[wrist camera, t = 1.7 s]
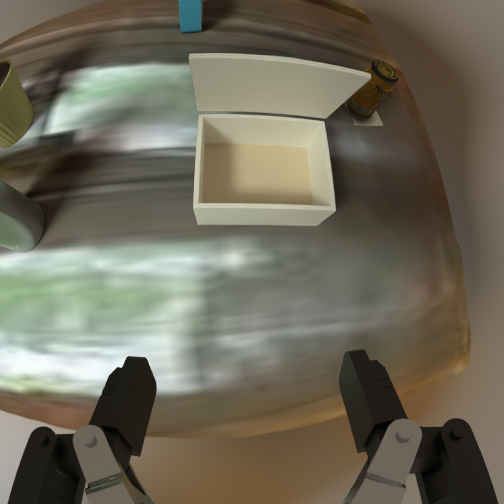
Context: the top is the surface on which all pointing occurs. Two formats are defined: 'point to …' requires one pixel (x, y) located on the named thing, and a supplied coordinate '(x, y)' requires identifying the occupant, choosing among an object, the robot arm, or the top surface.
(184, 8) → the data package
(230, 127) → the box
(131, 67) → the top surface
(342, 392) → the robot arm
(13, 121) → the potted cactus
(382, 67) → the condiment
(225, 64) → the lid
